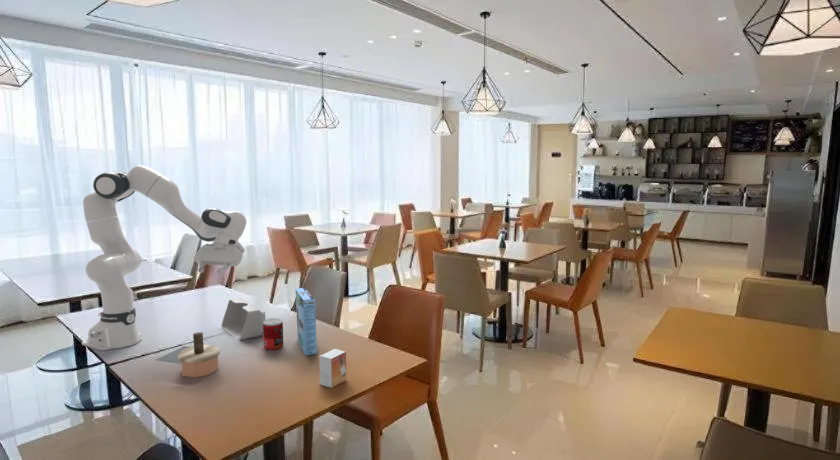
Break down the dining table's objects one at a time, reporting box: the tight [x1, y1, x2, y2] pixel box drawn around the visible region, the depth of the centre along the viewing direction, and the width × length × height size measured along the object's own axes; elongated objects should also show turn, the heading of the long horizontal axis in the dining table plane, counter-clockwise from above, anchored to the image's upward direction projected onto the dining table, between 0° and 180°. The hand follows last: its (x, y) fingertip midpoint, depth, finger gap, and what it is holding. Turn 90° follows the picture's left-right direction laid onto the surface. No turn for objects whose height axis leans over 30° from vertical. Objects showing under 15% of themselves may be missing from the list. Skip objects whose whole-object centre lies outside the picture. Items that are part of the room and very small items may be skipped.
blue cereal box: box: [295, 287, 318, 357], centre depth 200 cm, size 20×5×23 cm, turn 23°
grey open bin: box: [221, 297, 266, 341], centre depth 221 cm, size 25×16×12 cm, turn 39°
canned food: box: [262, 318, 284, 351], centre depth 200 cm, size 8×8×11 cm
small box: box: [318, 348, 347, 389], centre depth 169 cm, size 8×6×10 cm
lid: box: [178, 331, 221, 363], centre depth 177 cm, size 14×14×8 cm
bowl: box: [180, 355, 219, 378], centre depth 177 cm, size 12×12×6 cm
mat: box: [155, 345, 191, 365], centre depth 191 cm, size 15×15×1 cm
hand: (209, 272), depth 197 cm, fingers open, 8 cm apart
